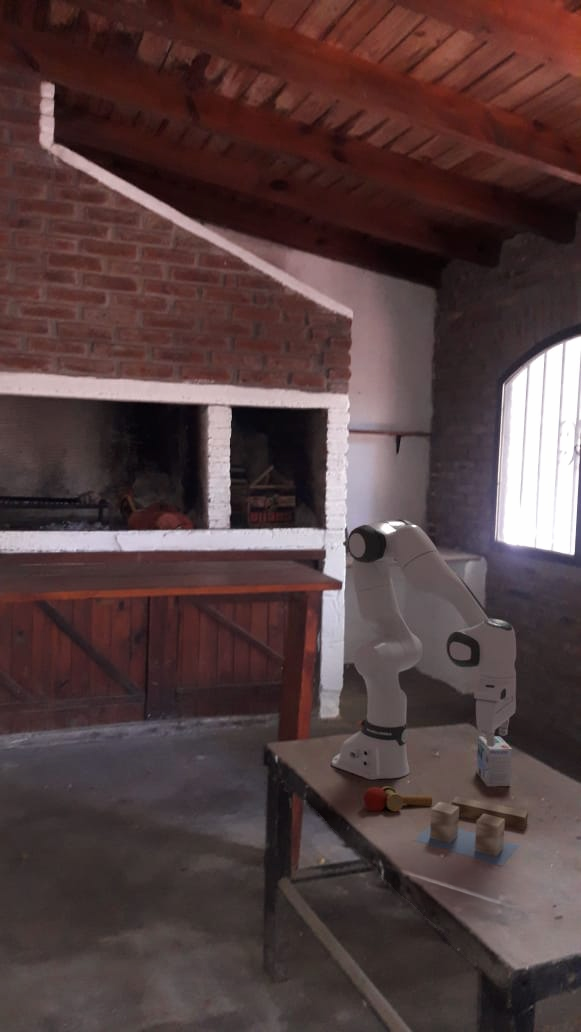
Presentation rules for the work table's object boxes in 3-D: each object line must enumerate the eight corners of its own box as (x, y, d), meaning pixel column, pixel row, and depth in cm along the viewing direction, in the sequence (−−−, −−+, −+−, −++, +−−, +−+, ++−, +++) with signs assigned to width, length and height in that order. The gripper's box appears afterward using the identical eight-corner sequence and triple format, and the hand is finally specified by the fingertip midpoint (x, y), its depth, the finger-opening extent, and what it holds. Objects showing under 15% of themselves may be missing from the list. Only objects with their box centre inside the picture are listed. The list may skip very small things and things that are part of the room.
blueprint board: (414, 842, 195) (414, 840, 195) (433, 824, 205) (434, 821, 205) (502, 868, 184) (502, 866, 184) (518, 847, 194) (518, 845, 194)
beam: (451, 817, 210) (451, 802, 210) (455, 811, 214) (456, 796, 213) (524, 833, 202) (524, 817, 202) (527, 827, 206) (527, 811, 206)
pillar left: (430, 837, 197) (431, 808, 196) (438, 829, 201) (439, 801, 200) (450, 843, 194) (451, 814, 193) (457, 835, 198) (459, 806, 198)
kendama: (421, 804, 220) (357, 799, 216) (427, 783, 219) (362, 778, 215) (431, 821, 213) (366, 817, 209) (437, 800, 212) (371, 795, 207)
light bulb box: (475, 772, 240) (477, 735, 239) (498, 772, 241) (500, 735, 240) (487, 787, 230) (489, 748, 229) (511, 787, 230) (513, 748, 229)
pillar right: (474, 850, 191) (476, 821, 190) (482, 842, 195) (483, 813, 194) (496, 856, 188) (497, 826, 188) (503, 848, 192) (504, 818, 192)
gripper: (498, 674, 217) (497, 726, 218) (471, 693, 200) (471, 749, 201) (522, 677, 214) (521, 730, 215) (497, 696, 196) (496, 754, 197)
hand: (497, 740), depth 207 cm, fingers open, 8 cm apart
